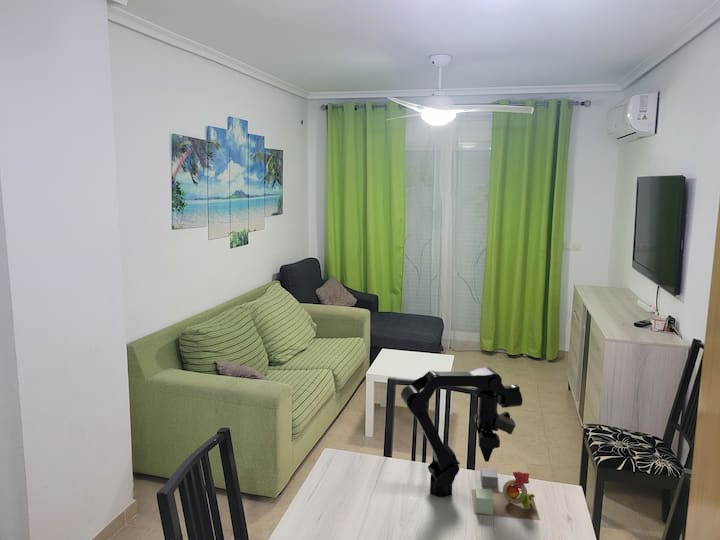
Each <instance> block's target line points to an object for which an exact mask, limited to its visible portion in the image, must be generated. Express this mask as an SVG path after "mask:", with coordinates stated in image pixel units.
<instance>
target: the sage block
mask: <svg viewBox="0 0 720 540" xmlns="http://www.w3.org/2000/svg"><path fill="white" fill-rule="evenodd" d="M492 491H493V489H487V488H476V487H475V511H476V513H481V514H492V515H493V505H494V498H493V492H492Z"/></svg>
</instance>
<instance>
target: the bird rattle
mask: <svg viewBox="0 0 720 540" xmlns="http://www.w3.org/2000/svg"><path fill="white" fill-rule="evenodd" d="M512 475H513V477H514V478H515V479H509V480H507V481H506V482H504V484H503V487H502V492H503V494H504V496H505V498H506V499H507V500H508V503H509V504H510V503H514V504H519V503H524V508H525V509H527V508H528V509H529V508H530V505H529V500H532V497H533V498H535V496H536V495H535V494H533V493H528V490H527V487H526V485H527V484H529V483H530V481H529V477H530V473H527V472H525V473H524V472H521V471H513V472H512ZM520 493H521V495H520V497H519V498H517V497H518V496H519V494H520ZM527 494H529V495H527Z"/></svg>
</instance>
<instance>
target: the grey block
mask: <svg viewBox="0 0 720 540" xmlns="http://www.w3.org/2000/svg"><path fill="white" fill-rule="evenodd" d="M480 483H481V486H482V487H490V488H498V486H499V485H498V484H499V475H498V471H497V468H495V469H494V468H484V467H483V468H482V467H480Z"/></svg>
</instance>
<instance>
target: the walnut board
mask: <svg viewBox="0 0 720 540" xmlns="http://www.w3.org/2000/svg"><path fill="white" fill-rule="evenodd" d="M492 492H493V498H494V505H493V515H492V514H481V513H476V511H475V489H474V488H473V489H471V497H472V498H471V499H472V507H473V514H474V515H482V516H489V517H491V516H492V517H502V518H503V517H504V518H511V519H512V518H514V519H524V520H534V521H535V520H536V521H541V518H540V515H539V512H538V508H537V505H536V502H535V499H534V498H535V497H532V500H529V505H530V508H529V509H528V508H527V509H525V508H524V503H519V504H514V503H510V504H509V503H508V500H507V499H506V498H505V496H504V494H503V491H497V490H496V491H495V490H492ZM521 493H522V492H520V494H519V496H518V497H517V498H519V497H520V495H521ZM529 494H530V493H527V495H529Z"/></svg>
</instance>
